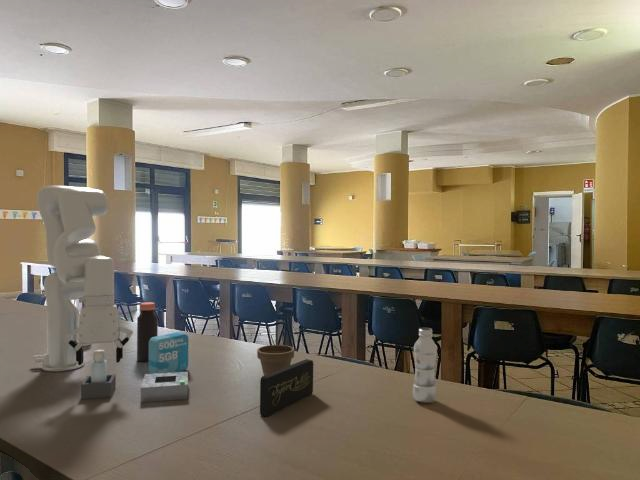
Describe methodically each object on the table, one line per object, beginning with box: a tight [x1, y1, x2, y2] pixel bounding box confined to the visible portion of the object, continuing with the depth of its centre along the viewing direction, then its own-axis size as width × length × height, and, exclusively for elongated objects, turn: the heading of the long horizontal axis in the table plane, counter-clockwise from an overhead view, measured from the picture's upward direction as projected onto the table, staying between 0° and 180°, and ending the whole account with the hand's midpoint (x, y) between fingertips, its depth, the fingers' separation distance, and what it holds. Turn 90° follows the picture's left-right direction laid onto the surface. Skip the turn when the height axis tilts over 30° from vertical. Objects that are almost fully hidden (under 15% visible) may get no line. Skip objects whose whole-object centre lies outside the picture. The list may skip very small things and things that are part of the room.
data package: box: [148, 332, 189, 374], centre depth 152 cm, size 12×4×12 cm, turn 142°
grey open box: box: [80, 373, 117, 400], centre depth 132 cm, size 8×8×4 cm
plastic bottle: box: [412, 327, 438, 404], centre depth 130 cm, size 6×7×20 cm
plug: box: [90, 349, 108, 383], centre depth 132 cm, size 4×4×12 cm
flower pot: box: [256, 344, 295, 376], centre depth 145 cm, size 12×11×10 cm
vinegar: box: [136, 301, 159, 363], centre depth 167 cm, size 7×7×20 cm
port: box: [140, 371, 189, 404], centre depth 133 cm, size 12×12×5 cm
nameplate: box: [259, 359, 314, 418], centre depth 126 cm, size 21×2×10 cm, turn 147°
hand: (99, 362), depth 132 cm, fingers open, 9 cm apart
